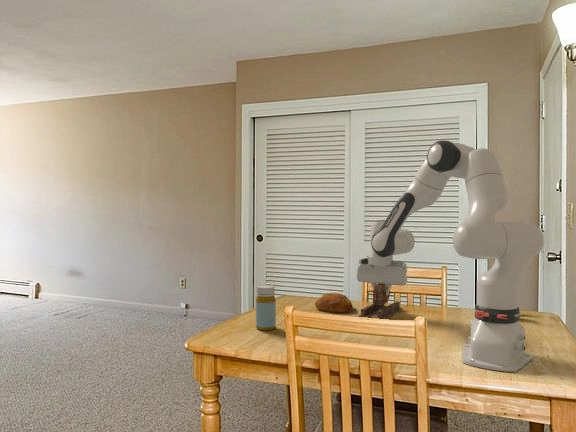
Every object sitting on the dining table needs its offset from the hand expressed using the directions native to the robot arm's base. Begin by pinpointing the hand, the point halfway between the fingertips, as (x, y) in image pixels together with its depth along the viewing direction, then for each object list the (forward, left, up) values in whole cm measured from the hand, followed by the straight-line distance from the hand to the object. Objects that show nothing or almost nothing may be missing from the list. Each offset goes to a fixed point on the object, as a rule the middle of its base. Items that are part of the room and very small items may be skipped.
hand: (381, 294), depth 187 cm
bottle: (-42, +27, -8) cm, 51 cm away
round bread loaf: (-2, +19, -8) cm, 21 cm away
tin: (0, 0, -4) cm, 4 cm away
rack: (0, 0, -8) cm, 8 cm away
